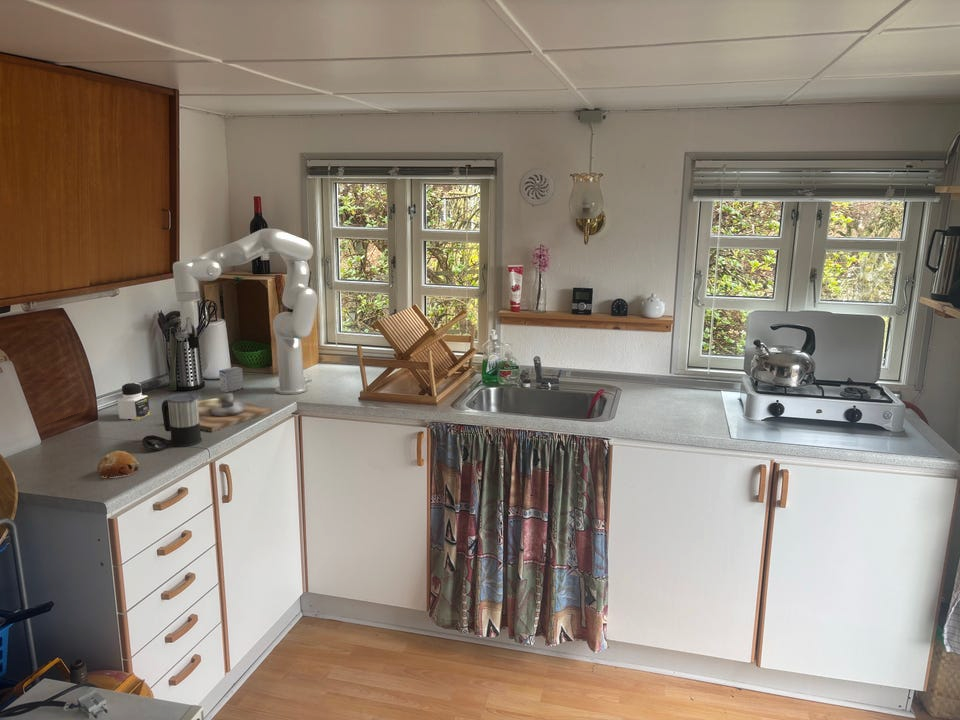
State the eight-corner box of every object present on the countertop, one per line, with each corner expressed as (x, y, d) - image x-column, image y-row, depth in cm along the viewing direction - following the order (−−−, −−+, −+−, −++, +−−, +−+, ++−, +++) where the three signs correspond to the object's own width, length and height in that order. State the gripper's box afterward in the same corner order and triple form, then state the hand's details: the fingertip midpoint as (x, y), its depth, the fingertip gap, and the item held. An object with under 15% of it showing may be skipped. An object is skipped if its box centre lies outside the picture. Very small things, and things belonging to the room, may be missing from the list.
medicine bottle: (137, 420, 252) (133, 386, 249) (119, 419, 253) (115, 385, 251) (150, 414, 259) (146, 381, 256) (132, 413, 260) (128, 381, 257)
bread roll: (124, 477, 209) (112, 452, 209) (149, 466, 206) (137, 440, 205) (98, 490, 200) (84, 464, 200) (123, 478, 197) (110, 452, 196)
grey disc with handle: (239, 404, 264) (238, 388, 263) (249, 412, 254) (248, 395, 253) (181, 413, 253) (179, 397, 251) (189, 422, 243) (188, 405, 242)
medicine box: (237, 387, 296) (235, 366, 294) (244, 388, 294) (242, 367, 292) (220, 391, 290) (218, 370, 288) (227, 392, 288) (225, 371, 286)
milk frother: (208, 439, 232) (204, 394, 229) (177, 455, 217) (172, 407, 214) (169, 435, 235) (165, 391, 232) (136, 451, 220) (131, 404, 217)
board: (229, 404, 271) (229, 399, 271) (271, 412, 260) (271, 407, 260) (168, 422, 250) (168, 417, 249) (211, 431, 238) (211, 426, 238)
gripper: (179, 294, 261) (185, 344, 265) (173, 300, 247) (179, 353, 251) (201, 293, 263) (207, 342, 267) (196, 299, 248) (202, 351, 253)
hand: (193, 347), depth 259 cm, fingers closed
